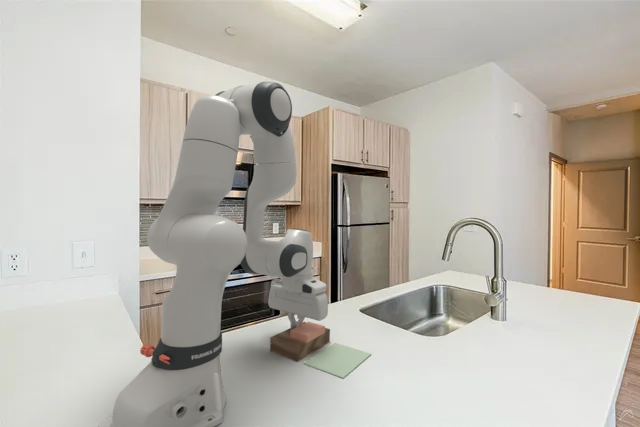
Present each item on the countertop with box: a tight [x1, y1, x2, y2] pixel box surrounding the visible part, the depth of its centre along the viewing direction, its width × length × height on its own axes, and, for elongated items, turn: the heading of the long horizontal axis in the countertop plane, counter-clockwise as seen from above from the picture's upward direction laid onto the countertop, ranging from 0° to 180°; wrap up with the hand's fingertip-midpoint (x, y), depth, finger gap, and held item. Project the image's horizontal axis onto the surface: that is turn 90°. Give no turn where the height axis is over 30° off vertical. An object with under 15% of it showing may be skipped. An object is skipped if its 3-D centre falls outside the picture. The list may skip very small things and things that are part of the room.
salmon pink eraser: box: [290, 321, 326, 343], centre depth 91 cm, size 9×6×2 cm, turn 147°
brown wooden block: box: [269, 321, 331, 363], centre depth 93 cm, size 16×10×4 cm, turn 146°
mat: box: [303, 342, 372, 380], centre depth 86 cm, size 16×12×1 cm
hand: (295, 328), depth 94 cm, fingers closed
